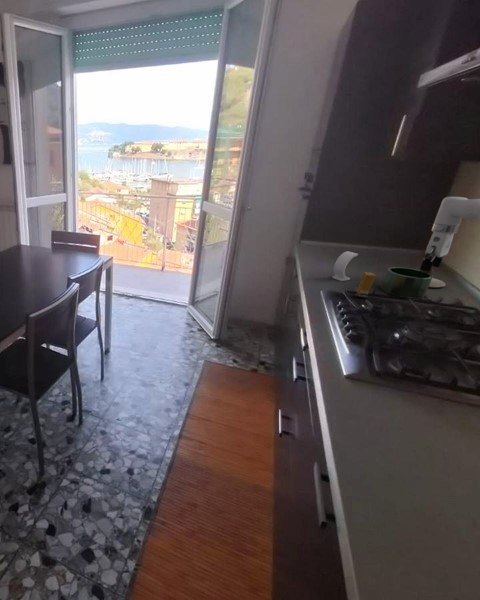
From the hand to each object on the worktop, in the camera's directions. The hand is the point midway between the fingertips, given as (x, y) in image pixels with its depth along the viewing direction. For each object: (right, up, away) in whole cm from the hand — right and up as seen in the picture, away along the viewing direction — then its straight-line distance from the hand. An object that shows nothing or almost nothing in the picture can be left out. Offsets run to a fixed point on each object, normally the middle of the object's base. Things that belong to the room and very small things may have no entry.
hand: (429, 268), depth 152 cm
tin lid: (0, -5, +3) cm, 6 cm away
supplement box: (-38, -13, -10) cm, 41 cm away
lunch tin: (-17, -10, -6) cm, 21 cm away
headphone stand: (-32, -4, +8) cm, 34 cm away
